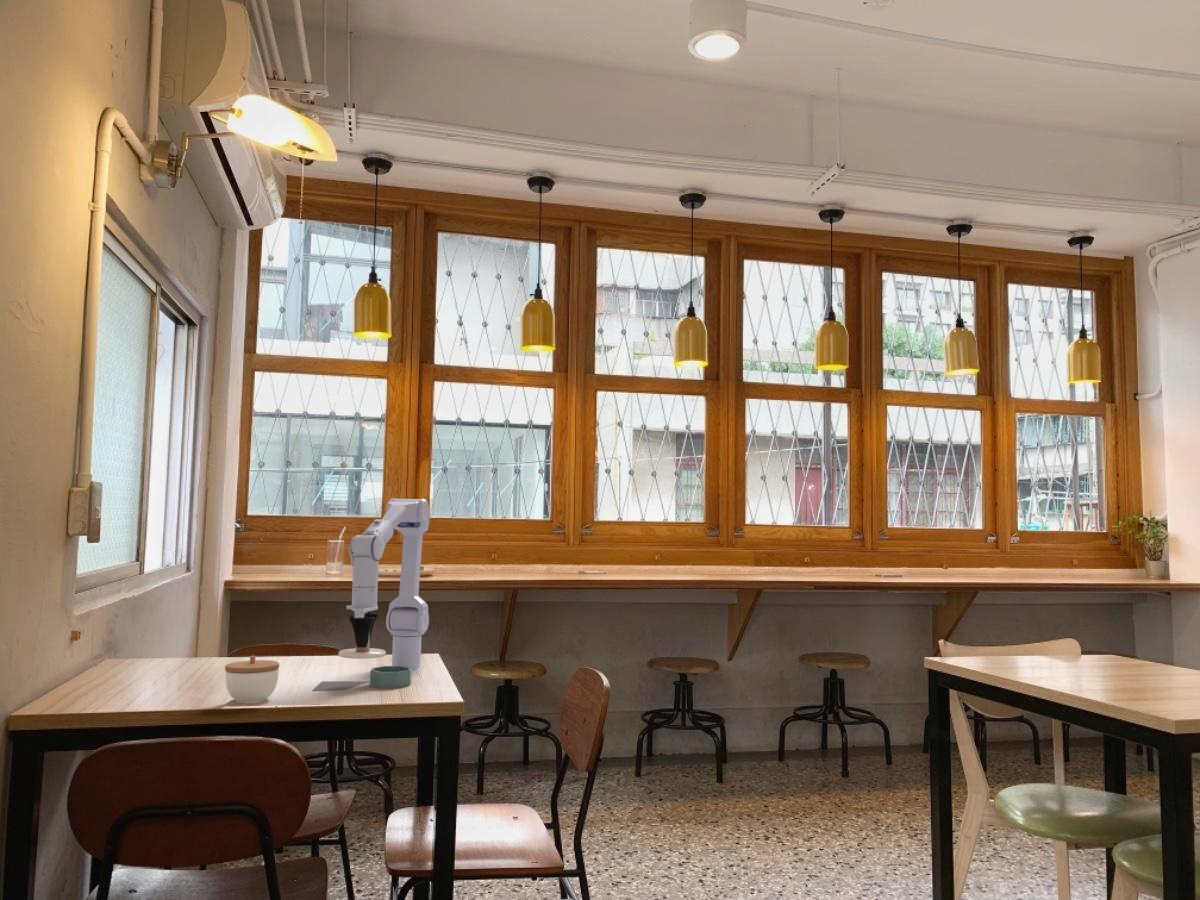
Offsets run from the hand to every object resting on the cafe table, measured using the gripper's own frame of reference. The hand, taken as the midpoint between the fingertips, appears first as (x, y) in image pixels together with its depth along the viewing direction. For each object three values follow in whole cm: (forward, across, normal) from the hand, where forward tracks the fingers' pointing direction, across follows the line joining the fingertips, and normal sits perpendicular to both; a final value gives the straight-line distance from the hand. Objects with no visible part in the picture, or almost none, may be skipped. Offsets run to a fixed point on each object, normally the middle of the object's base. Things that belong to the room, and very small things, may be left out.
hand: (363, 646), depth 211 cm
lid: (+2, 0, 0) cm, 2 cm away
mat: (+9, 0, -4) cm, 10 cm away
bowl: (+9, -1, +7) cm, 11 cm away
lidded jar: (+10, +16, -20) cm, 27 cm away
